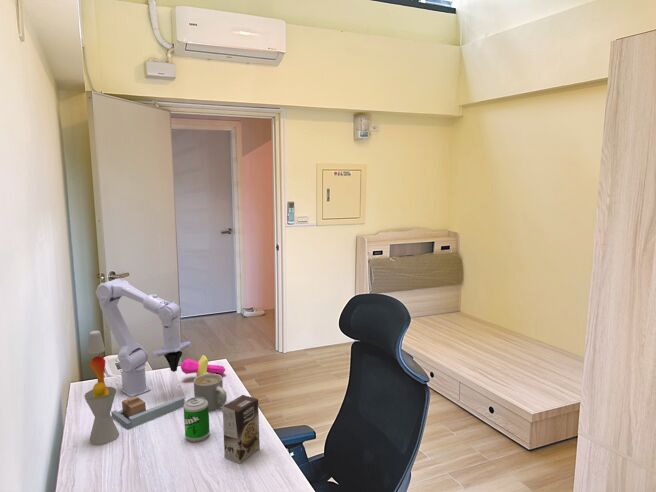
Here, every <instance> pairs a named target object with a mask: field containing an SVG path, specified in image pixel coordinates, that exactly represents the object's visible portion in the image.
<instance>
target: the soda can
mask: <svg viewBox="0 0 656 492" xmlns="http://www.w3.org/2000/svg"><path fill="white" fill-rule="evenodd" d="M182 408H183V418H184V419H183V420H184V436H185V438H186V440H188V441H190V442H192V443H196V442H201V441H203V440H206V439H207V437H208V436H209V435H210V432H211V431H210V430H211V429H210V419H209V418H210V415H209V413H210V412H208V401H207V400H205V399H204V398H203V397H191V398H188V399H187V400H186V401H185V404H184V405H183V407H182Z"/></svg>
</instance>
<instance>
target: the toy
mask: <svg viewBox="0 0 656 492" xmlns="http://www.w3.org/2000/svg"><path fill="white" fill-rule="evenodd" d="M179 367H180V369H181V371H182V373H184V375H189V374H190V375H191V374H195V373H196V377H198V376H200V375H204V374H216V373H218V374H219V375H221V374H223V373H225V371H226V368H225V366H222V365H217V364H209V361H208V358H207V356H206V355H204V354H202V356H201V357H200V358H199V360H198V361H195V360H194V359H191V358H186V359H184V360H183V361H182V362H181V364H180V366H179Z"/></svg>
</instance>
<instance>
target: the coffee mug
mask: <svg viewBox="0 0 656 492" xmlns="http://www.w3.org/2000/svg"><path fill="white" fill-rule="evenodd" d="M193 393H194V394H193V395H194V397H203V398H204V399H205V400H207V401H208V412H209V413H211V412H216V411H218V410H221V408H223V406H224V405H225V403H227V391H226V390H225V388H224V387H223V376H222V375H221V374H216V373H206V374H204V375H200V376H198V377H197V376H196V377H195V378H193Z"/></svg>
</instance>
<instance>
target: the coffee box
mask: <svg viewBox="0 0 656 492" xmlns="http://www.w3.org/2000/svg"><path fill="white" fill-rule="evenodd" d="M259 414H260V413H259V399H258V398H256V397H251V396H247V395H245V394H242V395H240V396H239V397H237V398H235V399H233V400H231V401H230V402H228V403H226V404H223V406H222V422H223V426H222V427H223V447H224V448H223V450H224V458H226V459H228V460H231V461H233V462H234V463H235V462H236V463H237V464H241V463H243V462H244V461H246V460H247V459H248V458H249V457H250V456H252V455H254V454H255V453H256V452H257V451H258V450H260V448H261V447H260V445H261V444H260V443H261V442H260V419H259V418H260V416H259Z"/></svg>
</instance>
